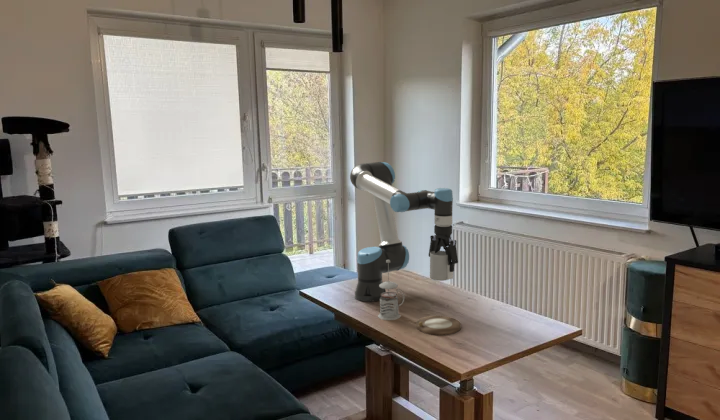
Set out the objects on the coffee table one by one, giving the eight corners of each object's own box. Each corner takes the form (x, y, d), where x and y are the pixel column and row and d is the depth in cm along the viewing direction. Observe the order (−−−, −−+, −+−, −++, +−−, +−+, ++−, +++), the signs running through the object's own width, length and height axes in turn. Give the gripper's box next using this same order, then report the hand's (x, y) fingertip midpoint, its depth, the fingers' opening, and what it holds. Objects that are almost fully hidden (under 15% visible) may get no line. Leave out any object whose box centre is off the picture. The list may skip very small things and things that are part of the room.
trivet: (407, 324, 214) (406, 318, 214) (439, 315, 224) (439, 309, 224) (436, 338, 199) (436, 332, 199) (470, 327, 209) (470, 321, 209)
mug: (437, 281, 219) (437, 256, 217) (425, 276, 227) (426, 252, 225) (460, 277, 225) (460, 252, 223) (448, 272, 232) (448, 248, 230)
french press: (381, 311, 231) (380, 256, 227) (407, 313, 227) (406, 257, 223) (374, 318, 222) (373, 261, 218) (401, 321, 218) (400, 263, 214)
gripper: (420, 222, 228) (420, 272, 232) (454, 230, 211) (453, 283, 215) (433, 220, 233) (432, 269, 236) (467, 227, 215) (466, 280, 219)
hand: (442, 276), depth 226 cm, fingers closed on mug, 8 cm apart
